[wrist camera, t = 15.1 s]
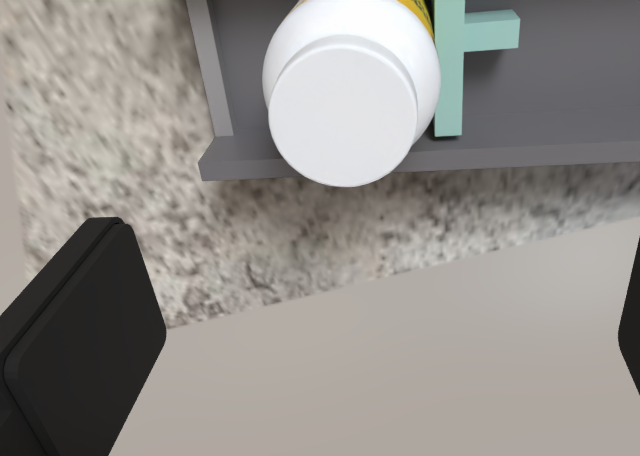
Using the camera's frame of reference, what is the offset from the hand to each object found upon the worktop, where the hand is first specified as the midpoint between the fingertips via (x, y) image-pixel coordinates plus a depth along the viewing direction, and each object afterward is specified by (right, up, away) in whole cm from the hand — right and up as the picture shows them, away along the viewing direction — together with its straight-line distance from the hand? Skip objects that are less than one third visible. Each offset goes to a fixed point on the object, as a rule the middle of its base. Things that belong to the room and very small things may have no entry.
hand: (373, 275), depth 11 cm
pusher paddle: (+6, +10, +16) cm, 20 cm away
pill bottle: (+1, +10, +17) cm, 20 cm away
